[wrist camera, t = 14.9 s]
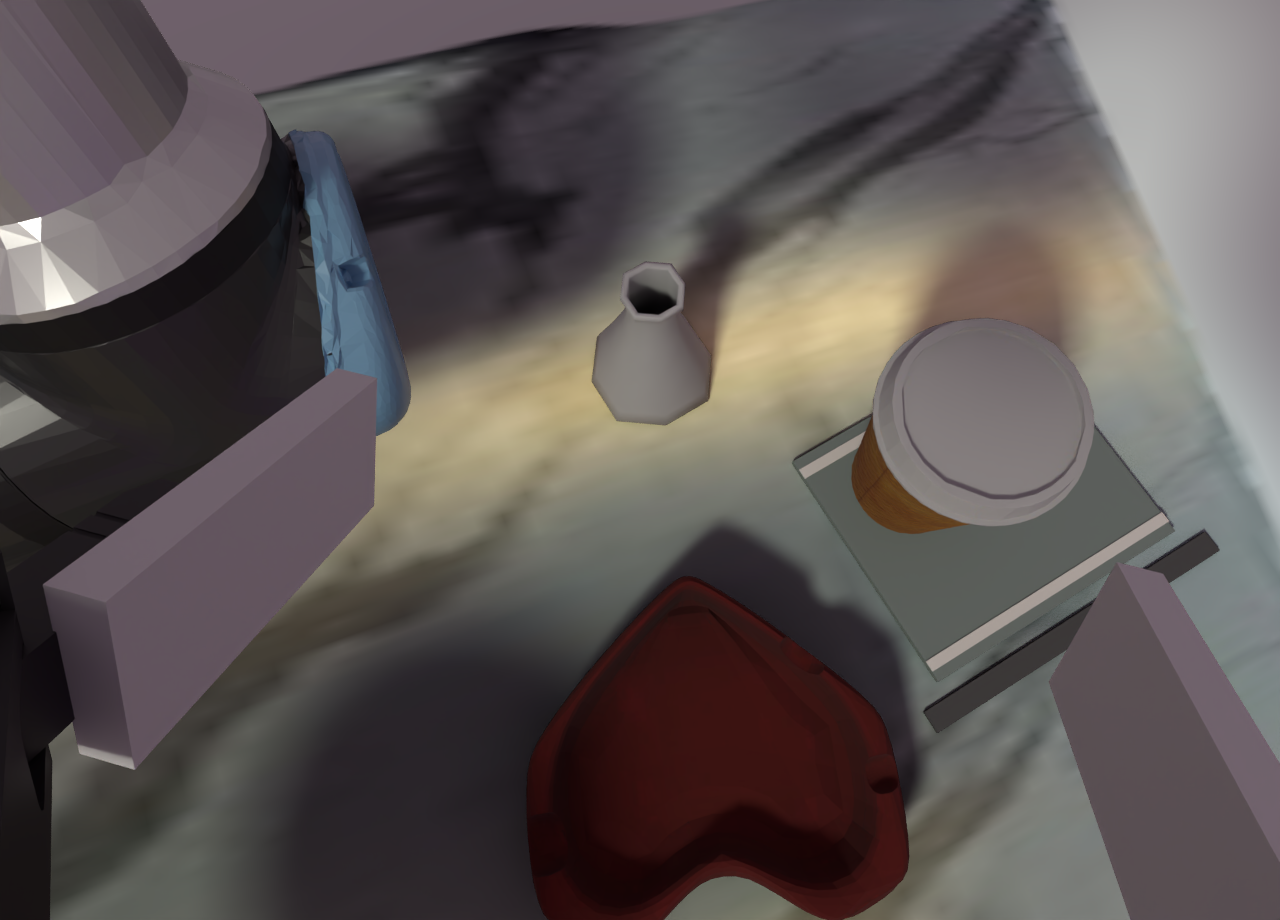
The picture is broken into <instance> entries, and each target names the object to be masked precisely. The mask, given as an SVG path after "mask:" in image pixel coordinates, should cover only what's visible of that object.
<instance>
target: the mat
mask: <svg viewBox="0 0 1280 920" xmlns="http://www.w3.org/2000/svg"><path fill="white" fill-rule="evenodd" d="M871 417H872V416H871ZM871 417H869V418H867V419H865V420H864V421H862V422H860V423H859V424H857V425H855V426H853V427H852V428H850V429H848V430H846V431H845V432H843V433H841V434H839V435H838V436H836V437H834V438H833V439H831V440H829V441H827V442H826V443H824V444H822V445H820V446H819V447H817V448H815V449H814V450H812V451H810V452H808V453H807V454H805V455H803V456H801V457H800V458H798V459H796V460H795V461H793V462H792V464H793V466H794V467H795V469H796V470H797V472H798V473H799V475H800V476H801V478H802V479H803V481H804V482H805V484H806V485H807V487H808V488H809V490H810V491H811V493H812V494H813V496H814V497H815V499H816V501H817V502H818V504H819V505H820V507H821V508H822V510H823V511H824V513H825V514H826V516H827V517H828V519H829V520H830V522H831V523H832V525H833V526H834V528H835V529H836V531H837V532H838V534H839V535H840V537H841V538H842V540H843V541H844V543H845V544H846V546H847V547H848V549H849V550H850V552H851V554H852V555H853V557H854V558H855V560H856V561H857V563H858V564H859V566H860V567H861V569H862V570H863V572H864V573H865V575H866V576H867V578H868V579H869V581H870V582H871V584H872V585H873V587H874V588H875V590H876V591H877V593H878V594H879V596H880V597H881V599H882V600H883V602H884V603H885V605H886V606H887V608H888V610H889V611H890V613H891V614H892V616H893V617H894V619H895V620H896V622H897V623H898V625H899V626H900V628H901V629H902V631H903V632H904V634H905V635H906V637H907V638H908V640H909V641H910V643H911V644H912V646H913V647H914V649H915V650H916V652H917V653H918V655H919V656H920V658H921V659H922V661H923V662H924V664H925V666H926V667H927V669H928V670H929V672H930V673H931V675H932V676H933V678H934V679H935V681H936V682H939V681H941V680H942V679H944V678H945V677H947V676H949V675H950V674H952V673H953V672H955V671H956V670H958V669H960V668H961V667H963V666H964V665H966V664H967V663H969V662H971V661H972V660H974V659H975V658H977V657H978V656H980V655H982V654H983V653H985V652H986V651H988V650H989V649H991V648H992V647H994V646H996V645H997V644H999V643H1000V642H1002V641H1003V640H1005V639H1007V638H1008V637H1010V636H1011V635H1013V634H1014V633H1016V632H1018V631H1019V630H1021V629H1022V628H1024V627H1025V626H1027V625H1029V624H1030V623H1032V622H1033V621H1035V620H1036V619H1038V618H1039V617H1041V616H1043V615H1044V614H1046V613H1047V612H1049V611H1050V610H1052V609H1054V608H1055V607H1057V606H1058V605H1060V604H1061V603H1063V602H1065V601H1066V600H1068V599H1069V598H1071V597H1072V596H1074V595H1076V594H1077V593H1079V592H1080V591H1082V590H1083V589H1085V588H1086V587H1088V586H1090V585H1091V584H1093V583H1094V582H1096V581H1097V580H1099V579H1101V578H1102V577H1104V576H1105V575H1107V574H1108V573H1110V572H1111V571H1112V570H1113V568H1114V566H1115V564H1116V562H1118V563H1122V564H1124V563H1126V562H1127V561H1129V560H1130V559H1132V558H1133V557H1135V556H1137V555H1138V554H1140V553H1141V552H1143V551H1144V550H1146V549H1148V548H1149V547H1151V546H1152V545H1154V544H1155V543H1157V542H1159V541H1160V540H1162V539H1163V538H1165V537H1166V536H1168V535H1169V534H1171V533H1173V532H1174V531H1175V530H1174V529H1173V527H1172V526H1171V525H1170V523H1169V520H1168V519H1167V518H1166V516H1165V515H1164V514H1163V513H1162V512H1160V511H1159V509H1158V508H1157V507H1156V505H1155V504H1154V503H1153V502H1152V500H1151V499H1150V498H1149V496H1148V495H1147V494H1146V492H1145V491H1144V490H1143V489H1142V487H1141V486H1140V485H1139V483H1138V482H1137V481H1136V480H1135V478H1134V477H1133V476H1132V474H1131V473H1130V472H1129V471H1128V469H1127V468H1126V467H1125V465H1124V464H1123V463H1122V462H1121V460H1120V459H1119V458H1118V456H1117V455H1116V454H1115V453H1114V451H1113V450H1112V449H1111V447H1110V446H1109V445H1108V444H1107V442H1106V441H1105V440H1104V438H1103V437H1102V436H1101V435H1100V433H1099V432H1098V431H1097V429H1096V428H1095V427H1094V434H1093V440H1092V446H1091V448H1090V451H1089V454H1088V458H1087V461H1086V465H1085V468H1084V470H1083V472H1082V474H1081V476H1080V478H1079V480H1078V482H1077V483H1076V484H1075V486H1074V487H1073V488H1072V490H1071V491H1070V492H1069V493H1068V495H1067V496H1066V497H1065V498H1064V499H1063V500H1062V501H1061V502H1059V503H1058V504H1057V505H1056V506H1054V507H1053V508H1052V509H1050V510H1049V511H1047V512H1045V513H1043V514H1041V515H1040V516H1038V517H1036V518H1033V519H1030V520H1028V521H1024V522H1021V523H1016V524H1012V525H1006V526H981V525H974V524H968V525H963V526H957V527H952V528H946V529H941V530H936V531H930V532H925V533H921V534H907V533H898V532H895V531H892V530H889V529H887V528H885V527H883V526H881V525H880V524H878V523H877V522H875V521H874V520H873V519H872V518H870V517H869V516H868V515H867V513H866V512H865V511H864V510H863V509H862V507H861V505H860V504H859V502H858V500H857V499H856V496H855V493H854V490H853V487H852V480H851V475H852V464H853V461H854V457H855V455H856V453H857V451H858V448H859V446H860V444H861V441H862V439H863V436H864V433H865V432H866V429H867V427H868V424H869V422H870V420H871Z"/></svg>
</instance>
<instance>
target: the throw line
mask: <svg viewBox="0 0 1280 920" xmlns="http://www.w3.org/2000/svg"><path fill="white" fill-rule="evenodd" d="M1218 551H1219V549H1218V547H1217V546H1216V545H1215V543H1214V542H1213V541H1212V540H1211V538H1210V537H1209V536H1208V535H1207V533H1206V532H1203V533H1201V534H1200V535H1198V536H1196V537H1195V538H1193V539H1192V540H1190V541H1189V542H1187V543H1186V544H1184V545H1182V546H1181V547H1179V548H1178V549H1176V550H1175V551H1173V552H1172V553H1170V554H1168V555H1167V556H1165V557H1164V558H1162V559H1161V560H1159V561H1158V562H1156V563H1154V564H1153V565H1151V566H1150V567H1148V568H1147V569H1146V570H1150V571H1154V572H1158V573H1162V574H1164V576H1165V578H1166V579H1167V581H1168V583H1170V582H1172V581H1173V580H1175V579H1176V578H1178V577H1179V576H1181V575H1182V574H1184V573H1186V572H1187V571H1189V570H1190V569H1192V568H1193V567H1195V566H1196V565H1198V564H1199V563H1201V562H1203V561H1204V560H1206V559H1207V558H1209V557H1210V556H1212V555H1213V554H1215V553H1216V552H1218ZM1092 605H1093V603H1092V604H1091V605H1089V606H1088V607H1086V608H1084V609H1083V610H1081V611H1080V612H1078V613H1077V614H1075V615H1074V616H1072V617H1070V618H1069V619H1067V620H1066V621H1064V622H1063V623H1061V624H1059V625H1058V626H1056V627H1055V628H1053V629H1052V630H1050V631H1049V632H1047V633H1045V634H1044V635H1042V636H1041V637H1039V638H1038V639H1036V640H1035V641H1033V642H1031V643H1030V644H1028V645H1027V646H1025V647H1024V648H1022V649H1021V650H1019V651H1017V652H1016V653H1014V654H1013V655H1011V656H1010V657H1008V658H1007V659H1005V660H1003V661H1002V662H1000V663H999V664H997V665H996V666H994V667H993V668H991V669H989V670H988V671H986V672H985V673H983V674H982V675H980V676H979V677H977V678H975V679H974V680H972V681H971V682H969V683H968V684H966V685H965V686H963V687H961V688H960V689H958V690H957V691H955V692H954V693H952V694H951V695H949V696H947V697H946V698H944V699H943V700H941V701H940V702H938V703H937V704H935V705H933V706H932V707H930V708H929V709H927V710H926V711H924V712H923V713H924V714H925V716H926V717H927V719H928V720H929V722H930V723H931V725H932V726H933V728H934V730H935V731H936V733H939V732H940V731H942V730H943V729H945V728H946V727H948V726H950V725H951V724H953V723H954V722H956V721H957V720H959V719H960V718H962V717H963V716H965V715H967V714H968V713H970V712H971V711H973V710H974V709H976V708H977V707H979V706H980V705H982V704H984V703H985V702H987V701H988V700H990V699H991V698H993V697H994V696H996V695H997V694H999V693H1000V692H1002V691H1004V690H1005V689H1007V688H1008V687H1010V686H1011V685H1013V684H1014V683H1016V682H1017V681H1019V680H1021V679H1022V678H1024V677H1025V676H1027V675H1028V674H1030V673H1031V672H1033V671H1034V670H1036V669H1037V668H1039V667H1041V666H1042V665H1044V664H1045V663H1047V662H1048V661H1050V660H1051V659H1053V658H1054V657H1056V656H1058V655H1059V654H1061V653H1062V652H1064V651H1065V650H1067V649H1068V647H1069V645H1070V644H1071V642H1072V640H1073V638H1074V637H1075V635H1076V633H1077V631H1078V630H1079V628H1080V626H1081V624H1082V622H1083V621H1084V619H1085V617H1086V615H1087V614H1088V612H1089V610H1090V608H1091V607H1092Z"/></svg>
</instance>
